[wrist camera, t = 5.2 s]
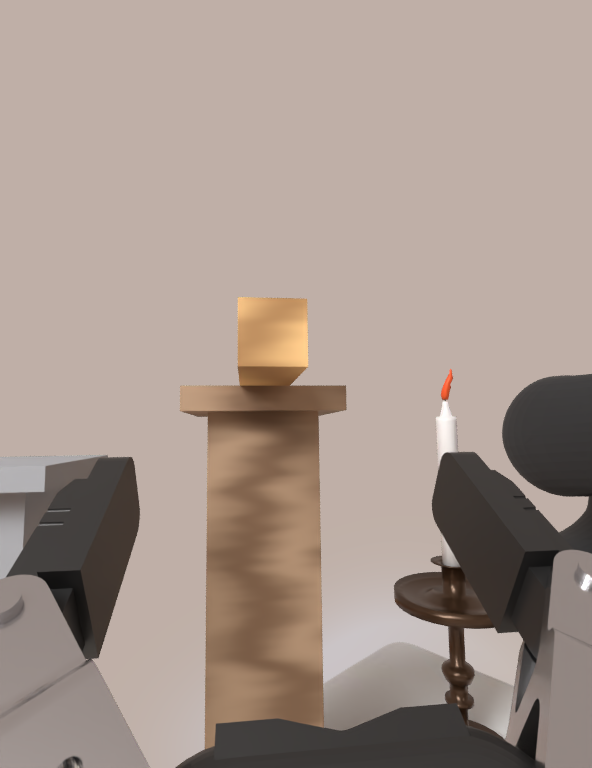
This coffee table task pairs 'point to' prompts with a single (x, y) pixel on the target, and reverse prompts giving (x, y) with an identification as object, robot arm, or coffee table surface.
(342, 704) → the coffee table surface
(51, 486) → the short pillar
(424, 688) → the coffee table surface
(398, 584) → the candlestick
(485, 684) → the coffee table surface
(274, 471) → the tall pillar
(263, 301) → the ochre bar
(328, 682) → the coffee table surface
